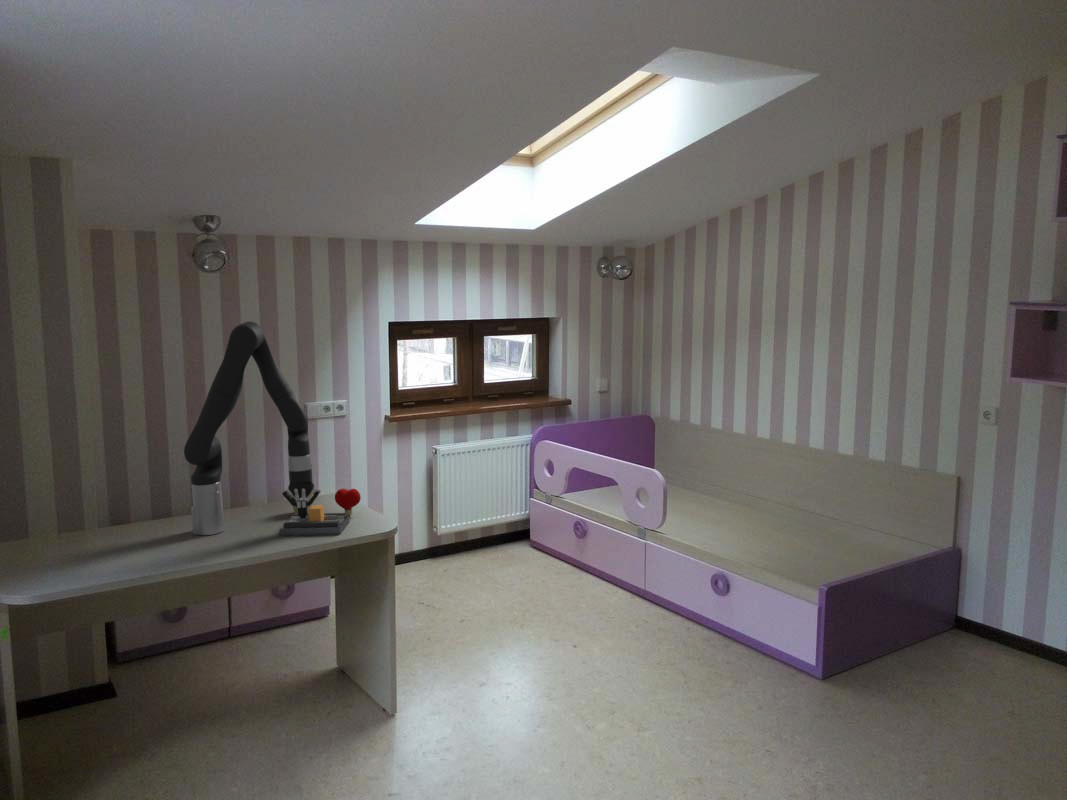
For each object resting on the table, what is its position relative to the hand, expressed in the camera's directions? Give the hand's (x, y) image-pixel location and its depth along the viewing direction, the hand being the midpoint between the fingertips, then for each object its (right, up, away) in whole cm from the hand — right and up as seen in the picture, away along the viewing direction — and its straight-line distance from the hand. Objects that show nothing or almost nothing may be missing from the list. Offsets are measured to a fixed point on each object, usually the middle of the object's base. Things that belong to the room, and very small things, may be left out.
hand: (303, 517), depth 277 cm
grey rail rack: (+4, -1, 0) cm, 4 cm away
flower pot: (-6, -2, +21) cm, 22 cm away
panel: (+4, -4, +1) cm, 6 cm away
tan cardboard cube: (+5, -1, 0) cm, 5 cm away
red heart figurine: (+12, -2, +15) cm, 20 cm away
